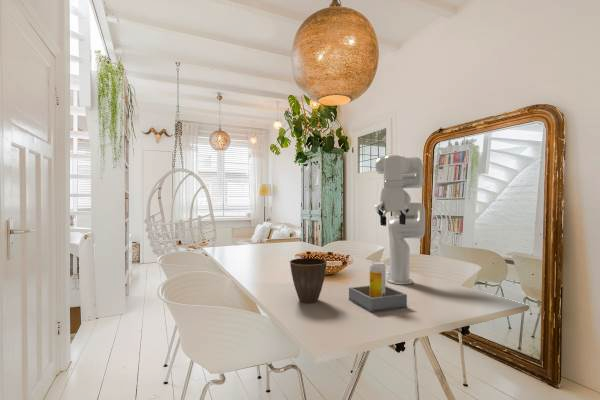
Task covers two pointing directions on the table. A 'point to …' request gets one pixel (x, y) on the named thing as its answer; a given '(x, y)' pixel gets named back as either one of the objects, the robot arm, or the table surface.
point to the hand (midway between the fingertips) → (393, 224)
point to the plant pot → (308, 278)
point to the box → (378, 299)
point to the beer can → (377, 279)
